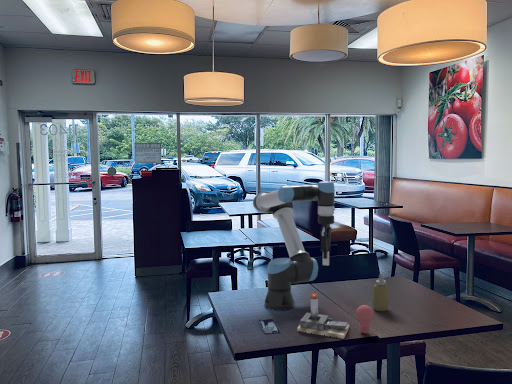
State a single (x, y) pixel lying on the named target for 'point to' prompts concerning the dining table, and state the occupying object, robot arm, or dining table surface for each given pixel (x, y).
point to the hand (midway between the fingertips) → (325, 264)
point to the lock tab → (337, 324)
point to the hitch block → (321, 326)
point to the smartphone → (269, 324)
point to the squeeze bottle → (380, 294)
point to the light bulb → (364, 317)
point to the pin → (314, 306)
